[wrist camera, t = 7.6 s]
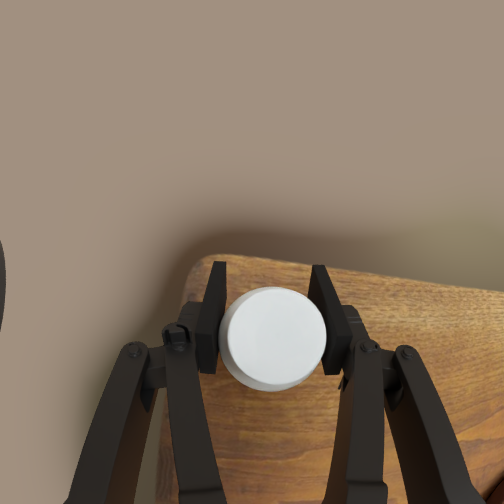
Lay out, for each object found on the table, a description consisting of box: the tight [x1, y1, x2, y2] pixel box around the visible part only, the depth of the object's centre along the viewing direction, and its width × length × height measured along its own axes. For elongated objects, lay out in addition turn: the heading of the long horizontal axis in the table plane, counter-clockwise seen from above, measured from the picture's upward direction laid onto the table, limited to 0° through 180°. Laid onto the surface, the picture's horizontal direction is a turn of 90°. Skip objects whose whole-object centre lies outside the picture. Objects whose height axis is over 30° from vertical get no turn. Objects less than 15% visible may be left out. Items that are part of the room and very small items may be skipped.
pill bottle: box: [218, 287, 326, 392], centre depth 15 cm, size 5×5×10 cm
